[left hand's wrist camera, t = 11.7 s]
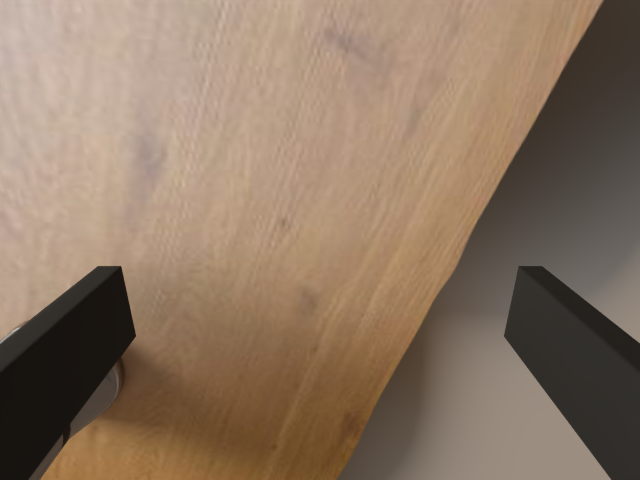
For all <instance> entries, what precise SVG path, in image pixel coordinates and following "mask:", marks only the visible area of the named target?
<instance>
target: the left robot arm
mask: <svg viewBox="0 0 640 480" xmlns="http://www.w3.org/2000/svg"><path fill="white" fill-rule="evenodd" d="M135 337H136V334H135V329H134V324H133V319H132V315H131V310H130V305H129V301H128V296H127V291H126V286H125V282H124V277H123V272H122V268H121V266H98V267H96V268H95V269H94V270H93V271H91V272H90V273H89V274H88V275H86V276H85V277H84V278H82V279H81V280H80V281H79V282H77V283H76V284H75V285H74V286H72V287H71V288H70V289H69V290H67V291H66V292H65V293H64V294H62V295H61V296H60V297H58V298H57V299H56V300H55V301H53V302H52V303H51V304H50V305H48V306H47V307H46V308H45V309H43V310H42V311H41V312H39V313H38V314H37V315H36V316H34V317H33V318H32V319H31V320H29V321H26V322H24V323H22V324H20V325H19V326H17V327H16V328H15V329H13V330H12V331H11V332H10V333H8V334H7V335H6V336H4V337H3V338H2V339H1V341H0V480H40V479H41V477H42V476H43V475H44V473H45V472H46V470H47V469H48V468H49V466H50V465H51V463H52V462H53V460H54V459H55V458H56V456H57V455H58V453H59V452H60V451H61V449H62V448H63V446H64V445H65V444H66V442H67V441H68V440H69V439H70V438H71V437H72V436H73V435H75V434H76V433H77V432H79V431H80V430H81V429H83V428H84V427H85V426H86V425H88V424H89V423H90V422H92V421H93V420H94V419H95V418H97V417H98V416H99V415H101V414H102V413H103V412H105V411H106V410H107V409H108V408H109V407H110V406H111V404H112V403H113V401H114V400H115V398H116V397H117V395H118V394H119V392H120V391H121V388H122V386H123V382H124V369H123V365H122V362H121V359H120V357H121V356H122V354H123V353H124V352H125V350H126V349H127V348H128V346H129V345H130V344H131V342H132V341H133V340H134V338H135ZM504 337H505V338H506V340H507V341H508V342H509V344H510V345H511V346H512V348H513V349H514V350H515V352H516V353H517V354H518V355H519V357H520V358H521V360H522V361H523V362H524V364H525V365H526V366H527V368H528V369H529V370H530V372H531V373H532V374H533V376H534V377H535V378H536V380H537V381H538V382H539V384H540V385H541V386H542V388H543V389H544V390H545V392H546V393H547V394H548V396H549V397H550V398H551V400H552V401H553V402H554V404H555V405H556V406H557V408H558V409H559V410H560V412H561V413H562V414H563V416H564V417H565V418H566V420H567V421H568V422H569V424H570V425H571V426H572V428H573V429H574V430H575V432H576V433H577V434H578V436H579V437H580V438H581V440H582V441H583V442H584V444H585V445H586V446H587V448H588V449H589V450H590V452H591V453H592V454H593V456H594V457H595V458H596V460H597V461H598V462H599V464H600V465H601V466H602V468H603V469H604V470H605V472H606V473H607V474H608V476H609V477H610V478H611V480H640V343H638V342H637V341H636V340H635V339H633V338H632V337H631V336H629V335H628V334H627V333H626V332H624V331H623V330H622V329H621V328H619V327H618V326H617V325H616V324H614V323H613V322H612V321H611V320H609V319H608V318H607V317H606V316H604V315H603V314H602V313H601V312H599V311H598V310H597V309H595V308H594V307H593V306H592V305H590V304H589V303H588V302H587V301H585V300H584V299H583V298H582V297H580V296H579V295H578V294H576V293H575V292H574V291H573V290H571V289H570V288H569V287H568V286H566V285H565V284H564V283H563V282H561V281H560V280H559V279H557V278H556V277H555V276H554V275H552V274H551V273H550V272H549V271H547V270H546V269H545V268H544V267H542V266H519V268H518V272H517V277H516V282H515V286H514V291H513V296H512V301H511V305H510V310H509V315H508V320H507V324H506V329H505V334H504Z"/></svg>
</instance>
